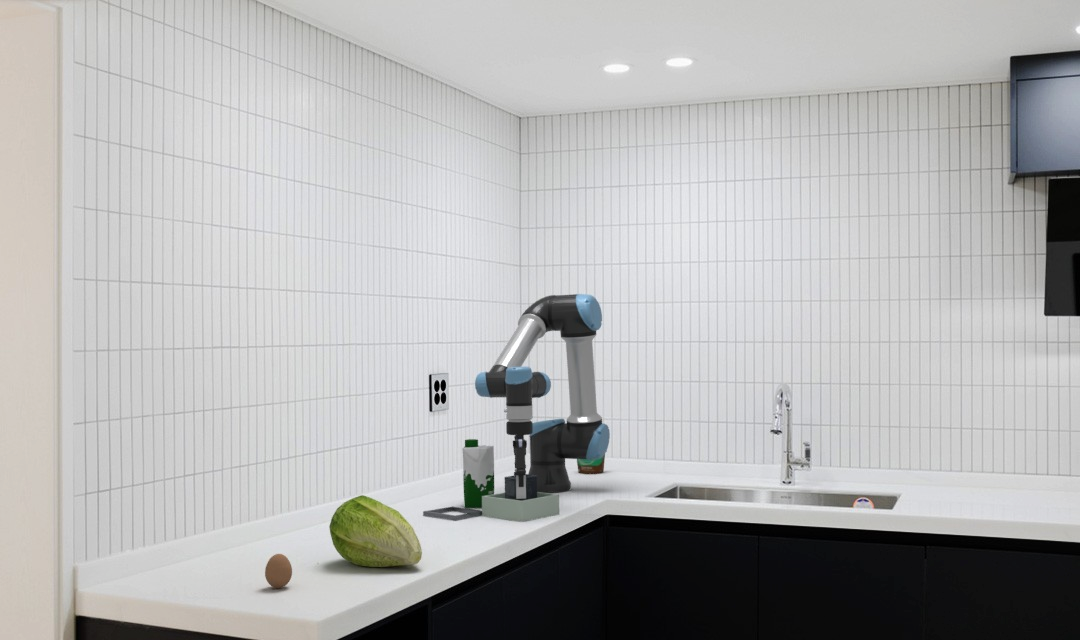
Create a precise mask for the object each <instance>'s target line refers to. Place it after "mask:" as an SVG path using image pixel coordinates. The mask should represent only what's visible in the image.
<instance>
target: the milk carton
mask: <svg viewBox="0 0 1080 640" xmlns="http://www.w3.org/2000/svg"><path fill="white" fill-rule="evenodd" d="M461 449H462V450H461V451H462V465H463V466H462V467H463V468H462V470H463V471H462V472H463V473H462V474H463V479H462V481H463V499H464V500H463V503H464V508H468V509H482V496H487V495H492V494H495V456H494V455H495V452H494V449H495V448H494V445H485V444H484V445H483V444H482V445H481V444H480V445H479V440H478V439H477V438H475V439H473V438H469V439H465V440H464V446H463V447H462V448H461Z"/></svg>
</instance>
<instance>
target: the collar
mask: <svg viewBox="0 0 1080 640" xmlns="http://www.w3.org/2000/svg"><path fill="white" fill-rule="evenodd" d="M449 512H456V513H462V514H456V515H454V514H449ZM447 513H448V514H447ZM422 516H423V517H428V518H437V519H442V520H449V521H456V522H457V521H461V520H467V519H473V518H476V517H483V516H482V509H481V510H480V509H476V508H465V507H459V506H452V505H451V506H446V507H441V508H435V509H429V510H424V511H422Z"/></svg>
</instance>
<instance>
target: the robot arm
mask: <svg viewBox="0 0 1080 640" xmlns="http://www.w3.org/2000/svg"><path fill="white" fill-rule="evenodd" d="M602 313H603V312H602V308H601V305H600V302H599V301H598V299H597V298H596V297H595V296H594V295H592V294H584V293H583V294H582V293H578V294H577V293H575V294H561V295H560V294H558V295H557V294H556V295H555V294H554V295H553V294H551V295H546V296H545V297H542V298H540V299H538V300H536V301H535V302H533V303H532V304H531V305H530V306H528V307H527V308H526V309H525V310H524V312H523V313H522V314H521V315H520V317H519V318H518V321H517V328H516V329H515V330H514V332H513V333H512V334H511V337H510V338H509V340H508V341H507V343H506V345H505V346H504V348H503V350H502V351H501V353H500V354H499V356H498V357H497V359H496V361H495V362H494V364H493V365H492V367H491V368H490V370H489V371H484V372H479V373H478V374H477V375H476V377H475V381H474V389H475V391H476V394H477V395H478V396H479V397H483V398H490V399H492V398H505V406H506V407H505V409H504V410H503V412H504V413H506V414H505V415H506V420H508V421H506V427H505V429H506V431H505V432H506V434H507V435H509V436H514V440H512V448H513V455H514V463H513V464H514V472H513V476H515V475H516V499H526V475H525V474H530V475H537V492H541V493H562V492H567V491H571V490H572V482H571V480H570V477H569V474H568V470H567V467H566V460H567V459H571V460H577V459H587V460H591V459H601V458H602V457H603V456H604V455H605V456H606V454H607V452H608V448H609V443H610V438H611V437H610V435H611V433H610V428H609V426H608V424H606V423H603V417H602V415H600V414H599V413H598V410H597V408H598V407H597V393H596V391H597V390H596V378H595V365H594V364H595V362H594V349H593V340H594V339H595V338H596V336H597V331H599V330H600V329H601V327H602V325H603V324H602V322H603V314H602ZM554 331H555V332H560V338H561V339H562V340H563V341H564V342H565V350H566V363H567V365H566V366H567V377H568V378H567V379H568V380H567V381H568V390H569V391H568V392H569V393H568V394H569V406H570V407H569V409H570V415H569V416H568V417H567V418H566V420H565V419H564V418H555V419H548V420H541V421H535V422H533V421H531V420H533V417H534V416H533V414H534V413H533V411H534V410H533V399H534V398H536V399H539V398H541V397H545V396H546V395H548V394H549V392H550V391H551V387H552V382H551V378H550V377H549V375H547V374H546V373H544V372H543V371H533V370H532V368H531V367H530V366H523V364H524V363H525V361H526V360H527V358H528V357H529V355H530V353H531V352H532V349H534V346H535V345H536V343H537V342H538V340H539V339H542V338H543V337H544V336H545V334H546V333H548V332H554ZM528 435H529V454H530V455H529V457H530V458H529V459H530V464H529V465H530V466H529V470H528V473H527V470H526V469H527V464H526V456H527V446H528V443H527V439H525V436H528ZM606 451H607V452H606Z"/></svg>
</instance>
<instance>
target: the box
mask: <svg viewBox="0 0 1080 640" xmlns="http://www.w3.org/2000/svg"><path fill="white" fill-rule="evenodd" d="M525 475H526V499H516V475H509V476H504V492H505V499H512V500H519V501H523V500H529V499H534V498H537V475H530V474H528V473H526V474H525Z"/></svg>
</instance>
